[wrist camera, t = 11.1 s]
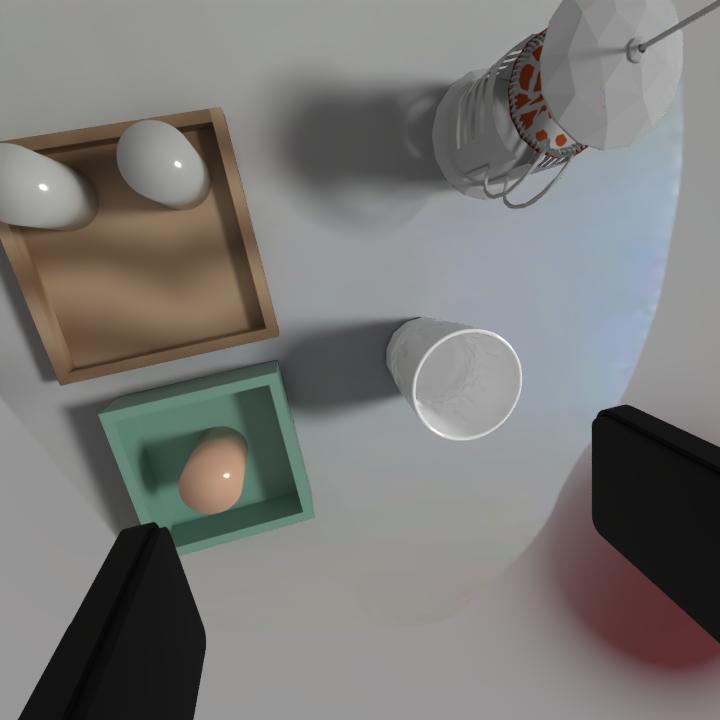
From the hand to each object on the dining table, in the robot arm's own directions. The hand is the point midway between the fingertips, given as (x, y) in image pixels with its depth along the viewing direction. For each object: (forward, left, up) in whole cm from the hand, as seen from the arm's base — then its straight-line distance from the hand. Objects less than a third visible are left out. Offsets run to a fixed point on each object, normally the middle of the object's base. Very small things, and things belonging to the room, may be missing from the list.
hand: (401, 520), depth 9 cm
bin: (+9, -10, -28) cm, 31 cm away
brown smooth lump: (+9, -10, -27) cm, 30 cm away
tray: (-8, -11, -28) cm, 31 cm away
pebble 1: (-13, -15, -27) cm, 34 cm away
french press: (-11, +17, -28) cm, 35 cm away
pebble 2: (-13, -7, -27) cm, 31 cm away
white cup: (+5, +9, -28) cm, 30 cm away
